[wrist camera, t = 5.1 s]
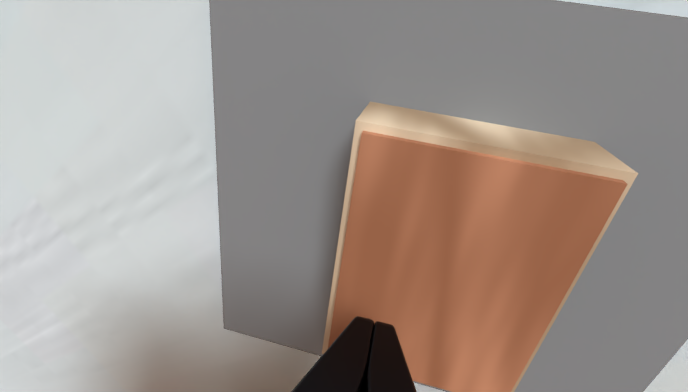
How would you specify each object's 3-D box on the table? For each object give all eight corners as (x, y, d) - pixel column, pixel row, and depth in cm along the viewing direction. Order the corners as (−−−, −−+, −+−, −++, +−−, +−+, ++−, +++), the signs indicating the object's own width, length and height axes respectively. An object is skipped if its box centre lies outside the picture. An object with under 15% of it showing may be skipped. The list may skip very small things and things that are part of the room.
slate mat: (897, 47, 8) (932, 49, 7) (598, 421, 14) (605, 436, 14) (219, -42, 10) (207, -45, 9) (230, 318, 16) (223, 328, 16)
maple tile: (643, 177, 7) (354, 122, 8) (507, 412, 11) (320, 358, 12) (594, 141, 9) (370, 101, 10) (494, 348, 13) (337, 307, 14)
